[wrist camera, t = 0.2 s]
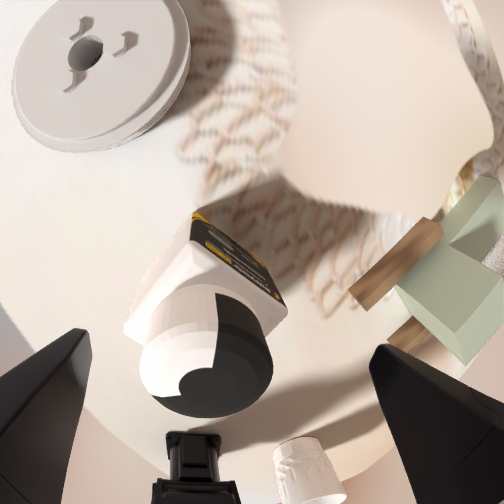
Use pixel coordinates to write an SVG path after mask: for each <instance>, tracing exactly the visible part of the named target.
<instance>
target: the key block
mask: <svg viewBox="0 0 504 504" xmlns="http://www.w3.org/2000/svg"><path fill="white" fill-rule="evenodd" d="M439 224H440V225H441V227H442V230H443V232H444V235H443V236H442V237H441V238H440V239H439V240H438V241H437V243H436V244H435V245H434V246H433V247H432V248H431V249H430V250H429V251H428V252H427V253H426V254H425V255H424V256H423V258H422V259H421V260H420V261H419V262H418V263H417V264H416V265H415V266H414V267H413V268H412V269H411V270H410V271H409V272H408V273H407V274H406V275H405V276H404V277H403V278H402V279H401V280H400V281H399V282H398V283H397V284H396V285H395V286H394V288H395V290H396V291H397V293H398V295H399V296H400V298H401V300H402V301H403V303H404V305H405V306H406V308H407V310H408V311H409V312H410V313H411V314H412V315H413V316H414V317H415V318H416V319H417V320H418V321H419V322H420V323H422V324H423V325H424V326H425V327H426V328H427V329H428V330H429V331H430V332H431V333H432V334H433V335H434V336H435V337H436V338H437V339H438V340H439V341H440V342H441V343H442V344H444V345H445V346H446V347H447V348H448V349H449V350H450V351H451V352H452V353H453V354H454V355H455V356H456V357H457V358H458V359H459V360H460V361H461V362H462V363H463V364H464V365H465V366H466V365H467V364H468V363H469V362H470V361H471V360H472V359H473V358H474V357H475V356H476V355H477V353H478V352H479V351H480V350H481V349H482V348H483V347H484V346H485V344H486V343H487V342H488V341H489V340H490V339H491V337H492V336H493V335H494V333H496V331H497V330H498V329H499V328H500V326H501V325H502V324H503V323H504V281H503V276H502V275H500V274H499V273H497V272H495V271H494V270H492V269H490V268H488V267H487V266H485V265H483V264H482V263H480V262H481V261H482V260H483V259H484V257H485V256H486V255H487V253H488V252H489V251H490V250H491V248H492V247H493V246H494V244H495V243H496V241H497V240H498V239H499V237H500V236H501V234H502V233H503V232H504V196H503V192H502V188H501V185H500V181H499V180H498V179H494V178H490V177H486V176H482V175H480V176H479V177H478V178H477V180H476V181H475V182H474V183H473V185H472V186H471V187H470V188H469V190H468V191H467V192H466V193H465V194H464V196H463V197H462V198H461V199H460V200H459V202H458V203H457V204H456V205H455V206H454V208H453V209H452V210H451V211H450V212H449V213H448V214H447V216H446V217H445V218H444V219H443V220H442V221H441V222H440V223H439Z"/></svg>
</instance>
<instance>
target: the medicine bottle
mask: <svg viewBox="0 0 504 504" xmlns="http://www.w3.org/2000/svg"><path fill="white" fill-rule="evenodd" d="M287 314H288V309H287V307H286V305H285V303H284V301H283V299H282V297H281V295H280V293H279V291H278V289H277V288H276V286H275V284H274V282H273V280H272V278H271V276H270V274H269V272H268V270H267V268H266V266H265V265H264V264H263V263H262V262H260V261H259V260H258V259H256V258H255V257H254V256H252V255H251V254H250V253H249V252H247V251H246V250H245V249H243V248H242V247H241V246H240V245H238V244H237V243H236V242H234V241H233V240H232V239H231V238H229V237H228V236H227V235H225V234H224V233H223V232H222V231H220V230H219V229H218V228H216V227H215V226H214V225H212V224H211V223H210V222H209V221H207V220H206V219H205V218H203V217H202V216H201V215H200V214H198V213H196V212H193V213H191V214H190V215H189V217H188V218H187V219H186V220H185V222H184V223H183V224H182V225H181V227H180V228H179V229H178V230H177V232H176V233H175V234H174V236H173V237H172V238H171V239H170V241H169V242H168V243H167V245H166V246H165V247H164V249H163V250H162V251H161V253H160V254H159V255H158V256H157V258H156V259H155V260H154V262H153V263H152V265H151V266H150V267H149V269H148V270H147V271H146V273H145V274H144V275H143V277H142V278H141V280H140V282H139V285H138V288H137V290H136V293H135V295H134V298H133V301H132V303H131V306H130V309H129V311H128V314H127V317H126V320H125V322H124V325H123V333H124V334H125V335H127V336H129V337H130V338H132V339H133V340H135V341H137V342H138V343H140V344H142V345H143V346H144V347H143V352H142V356H141V362H140V374H141V379H142V381H143V383H144V386H145V387H146V389H147V390H148V392H149V393H150V394H151V395H152V396H153V397H154V398H155V399H156V400H157V401H158V402H159V403H161V404H162V405H163V406H165V407H166V408H168V409H170V410H172V411H174V412H176V413H179V414H182V415H186V416H190V417H196V418H218V417H224V416H228V415H231V414H235V413H237V412H240V411H242V410H244V409H246V408H247V407H249V406H250V405H252V404H253V403H254V402H255V401H257V400H258V399H259V397H260V396H261V395H262V394H263V393H264V392H265V390H266V389H267V387H268V386H269V384H270V382H271V379H272V375H273V361H272V357H271V354H270V351H269V348H268V345H267V343H266V340H265V337H266V336H267V335H268V334H269V333H270V332H271V331H272V330H273V329H274V328H275V327H276V326H277V325H278V324H279V323H280V322H281V321H282V320H283V319H284V318H285V317H286V316H287Z"/></svg>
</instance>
